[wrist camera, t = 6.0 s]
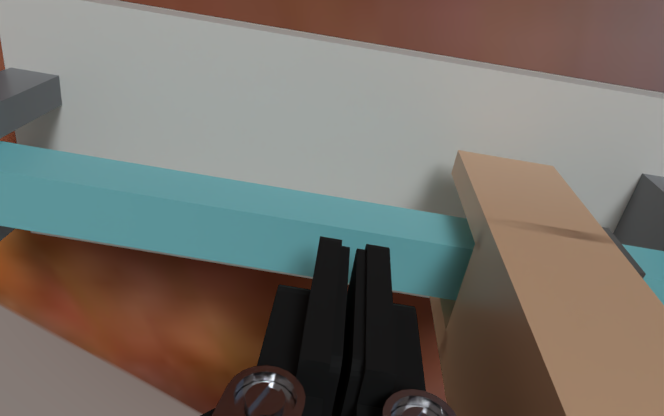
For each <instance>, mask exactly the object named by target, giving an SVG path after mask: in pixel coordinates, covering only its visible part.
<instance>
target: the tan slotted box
mask: <svg viewBox="0 0 664 416" xmlns="http://www.w3.org/2000/svg"><path fill="white" fill-rule="evenodd" d="M451 174H452V177H453V180H454V183H455V186H456V189H457V192H458V195H459V198H460V201H461V203H462V206H463V209H464V212H465V215H466V218H467V221H468V224H469V227H470V230H471V233H472V236H473V239H474V242H475V246H474V249H473V252H472V255H471V258H470V261H469V264H468V266H467V269H466V272H465V275H464V278H463V281H462V284H461V287H460V290H459V293H458V296H457V299H456V300H449V299H443V298H437V297H431V296H430V303H431V309H432V315H433V321H434V327H435V333H436V340H437V346H438V352H439V358H440V364H441V370H442V377H443V383H444V389H445V395H446V401H447V404H448V405H449V406H450V408H451V409H452V410H453V411H454V412H455V414H456V416H664V305H663V303H662V302H661V301H660V300H659V298H658V297H657V296H656V295H655V293H654V292H653V291H652V290H651V288H650V287H649V286H648V285H647V283H646V282H645V281H644V280H643V278H642V277H641V276H640V275H639V273H638V272H637V271H636V270H635V268H634V267H633V266H632V264H631V263H630V262H629V261H628V259H627V258H626V257H625V256H624V254H623V253H622V252H621V251H620V249H619V248H618V247H617V246H616V244H615V243H614V242H613V241H612V239H611V238H610V237H609V236H608V234H607V233H606V232H605V231H604V229H603V228H602V227H601V225H600V224H599V223H598V222H597V220H596V219H595V218H594V217H593V215H592V214H591V213H590V212H589V210H588V209H587V208H586V207H585V205H584V204H583V203H582V202H581V200H580V199H579V198H578V197H577V195H576V194H575V193H574V192H573V190H572V189H571V188H570V186H569V185H568V184H567V183H566V181H565V180H564V179H563V178H562V176H561V175H560V174H559V173H558V171H557V170H556V169H555V168H554V166H550V165H544V164H538V163H532V162H526V161H520V160H514V159H508V158H502V157H496V156H490V155H485V154H479V153H473V152H467V151H461V150H458V152H457V155H456V159H455V162H454V166H453V169H452V173H451Z"/></svg>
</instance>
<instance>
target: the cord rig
mask: <svg viewBox="0 0 664 416" xmlns="http://www.w3.org/2000/svg"><path fill="white" fill-rule="evenodd" d="M0 38H1V44H2V51H3V57H4V64H5V70H3V71H0V138H2V137H4V136H5V135H7V134H9V133H11V132H13V131H15V134H16V140H17V144H15V143H9V142H3V141H0V241H1V240H2V239H3V238H4V237H6V236H7V235H8V234H9V233H10V232H12V231H13V230H14V229H15V228H17V229H23V230H29V231H31V233H36V234H42V235H48V236H54V237H60V238H66V239H73V240H79V241H85V242H91V243H97V244H103V245H109V246H115V247H121V248H127V249H133V250H140V251H146V252H152V253H158V254H164V255H170V256H176V257H182V258H188V259H194V260H201V261H207V262H213V263H219V264H225V265H231V266H237V267H243V268H249V269H255V270H262V271H268V272H274V273H280V274H286V275H292V276H298V277H304V278H310V279H313V274H314V269H315V263H316V257H317V251H318V245H319V239H320V236H322V237H328V238H334V239H340V240H342V246H346V247H350V257H349V272H348V285H349V283H350V278H351V273H352V268H353V263H354V259H355V254H356V250H357V248H358V249H364V250H365V247H366V244H370V245H377V246H383V247H389V249H390V263H391V280H392V292H396V293H402V294H408V295H414V296H420V297H426V298H430V296H431V297H437V298H443V299H449V300H456V299H457V296H458V293H459V290H460V287H461V284H462V281H463V278H464V275H465V272H466V269H467V266H468V264H469V261H470V258H471V255H472V252H473V249H474V246H475V242H474V239H473V236H472V233H471V230H470V227H469V224H468V221H467V218H466V215H465V212H464V209H463V206H462V203H461V201H460V198H459V195H458V192H457V189H456V186H455V183H454V180H453V177H452V174H451V173H452V169H453V166H454V162H455V159H456V155H457V152H458V150H461V151H467V152H473V153H479V154H485V155H490V156H496V157H502V158H508V159H514V160H520V161H526V162H532V163H538V164H544V165H550V166H554V168H555V169H556V170H557V171H558V173H559V174H560V175H561V176H562V178H563V179H564V180H565V181H566V183H567V184H568V185H569V186H570V188H571V189H572V190H573V192H574V193H575V194H576V195H577V197H578V198H579V199H580V200H581V202H582V203H583V204H584V205H585V207H586V208H587V209H588V210H589V212H590V213H591V214H592V215H593V217H594V218H595V219H596V220H597V222H598V223H599V224H600V225H601V227H602V228H603V229H604V231H605V232H606V233H607V234H608V236H609V237H610V238H611V239H612V241H613V242H614V243H615V244H616V246H617V247H618V248H619V249H620V251H621V252H622V253H623V254H624V256H625V257H626V258H627V259H628V261H629V262H630V263H631V264H632V266H633V267H634V268H635V270H636V271H637V272H638V273H639V275H640V276H641V277H642V278H643V280H644V281H645V282H646V283H647V285H648V286H649V287H650V288H651V290H652V291H653V292H654V293H655V295H656V296H657V297H658V298H659V300H660V301H661V302H662V303H663V305H664V93H661V92H655V91H649V90H643V89H638V88H632V87H626V86H620V85H614V84H608V83H602V82H596V81H590V80H584V79H579V78H573V77H567V76H561V75H555V74H549V73H543V72H537V71H531V70H525V69H520V68H514V67H508V66H502V65H496V64H490V63H484V62H478V61H472V60H466V59H461V58H455V57H449V56H443V55H437V54H431V53H425V52H419V51H413V50H407V49H402V48H396V47H390V46H384V45H378V44H372V43H366V42H360V41H354V40H348V39H343V38H337V37H331V36H325V35H319V34H313V33H307V32H301V31H295V30H290V29H284V28H278V27H272V26H266V25H260V24H254V23H248V22H242V21H236V20H231V19H225V18H219V17H213V16H207V15H201V14H195V13H189V12H183V11H177V10H172V9H166V8H160V7H154V6H148V5H142V4H136V3H130V2H124V1H118V0H0Z"/></svg>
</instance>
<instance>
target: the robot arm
mask: <svg viewBox="0 0 664 416" xmlns="http://www.w3.org/2000/svg"><path fill="white" fill-rule="evenodd" d="M349 257H350V247H346V246H342V240H340V239H334V238H328V237H322V236H320V239H319V245H318V251H317V257H316V263H315V269H314V274H313V280H312V286H311V290H309V289H303V288H297V287H291V286H285V285H279V286H278V289H277V293H276V296H275V300H274V304H273V308H272V311H271V315H270V319H269V323H268V326H267V330H266V334H265V338H264V341H263V345H262V349H261V353H260V357H259V360H258V364H257V366H254V367H251V368H248V369H245V370H243V371H241V372H240V373H238V374H237V375H236V376H234V377H233V379H232V380H231V381H230V383H229V384H228V385H227V387H226V389H225V391H224V393H223V395H222V397H221V399H220V400H219V402H218V404H217V406H216V408H214V409H212V410H210V411H209V412H207V413H205V414H203V415H201V416H456V414H455V412H454V411H453V410H452V409H451V408H450V406H449V405H448V404H447V403H446V402H444V401H443V400H441V399H440V398H439V397H437V396H436V395H433V394H431V393H428V392H426V389H425V381H424V373H423V364H422V356H421V348H420V339H419V331H418V323H417V314H416V309H415V307H413V306H407V305H401V304H395V303H393V297H392V280H391V263H390V249H389V247H383V246H377V245H370V244H366V247H365V250H364V249H358V248H357V250H356V254H355V259H354V263H353V268H352V273H351V278H350V283H349V287H348V272H349ZM347 287H348V292H347Z"/></svg>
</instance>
